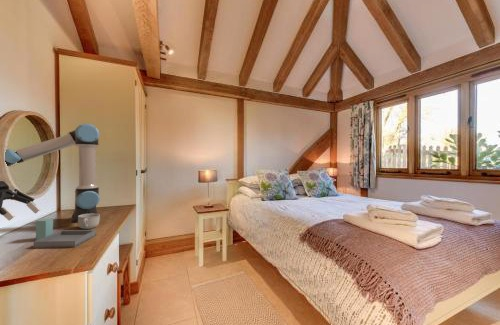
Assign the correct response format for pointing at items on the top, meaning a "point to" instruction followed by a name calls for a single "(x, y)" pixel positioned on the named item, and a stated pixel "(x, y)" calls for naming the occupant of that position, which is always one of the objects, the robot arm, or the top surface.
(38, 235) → the teal block
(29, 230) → the top surface
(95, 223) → the teacup
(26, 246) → the top surface
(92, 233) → the tray
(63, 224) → the top surface
